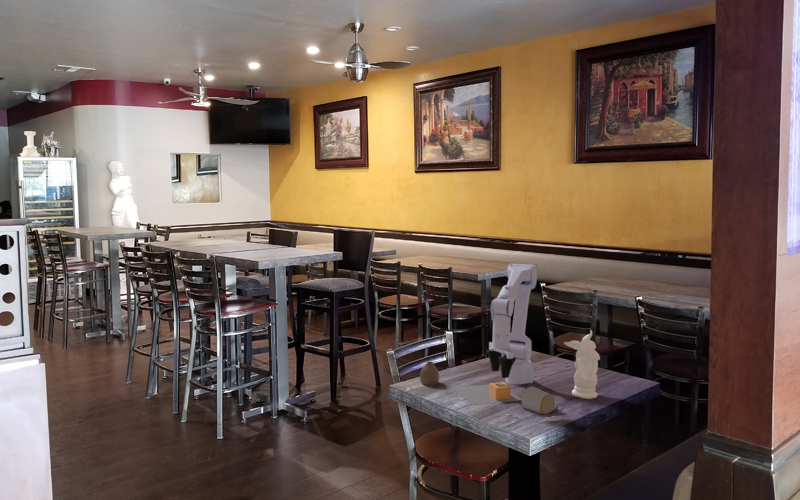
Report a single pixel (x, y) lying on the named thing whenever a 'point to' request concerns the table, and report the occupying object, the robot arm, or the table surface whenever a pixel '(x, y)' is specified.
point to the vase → (429, 374)
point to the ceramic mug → (538, 400)
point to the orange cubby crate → (499, 391)
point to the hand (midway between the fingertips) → (500, 374)
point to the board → (481, 395)
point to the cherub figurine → (585, 367)
